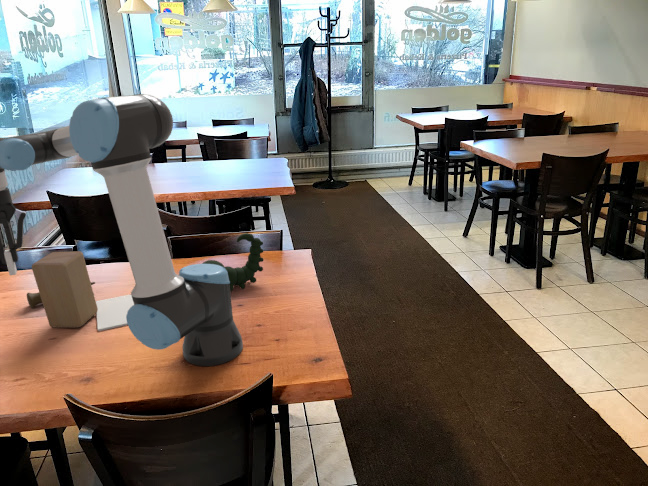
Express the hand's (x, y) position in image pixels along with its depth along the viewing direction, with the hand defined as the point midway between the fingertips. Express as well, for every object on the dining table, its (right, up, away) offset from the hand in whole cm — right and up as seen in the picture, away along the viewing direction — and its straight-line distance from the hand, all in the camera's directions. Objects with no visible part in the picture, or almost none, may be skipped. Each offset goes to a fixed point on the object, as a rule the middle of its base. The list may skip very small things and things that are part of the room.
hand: (13, 273), depth 141 cm
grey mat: (+25, -12, +16) cm, 32 cm away
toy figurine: (+54, -7, +28) cm, 61 cm away
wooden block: (+12, -14, +10) cm, 21 cm away
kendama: (+1, -10, +25) cm, 27 cm away
